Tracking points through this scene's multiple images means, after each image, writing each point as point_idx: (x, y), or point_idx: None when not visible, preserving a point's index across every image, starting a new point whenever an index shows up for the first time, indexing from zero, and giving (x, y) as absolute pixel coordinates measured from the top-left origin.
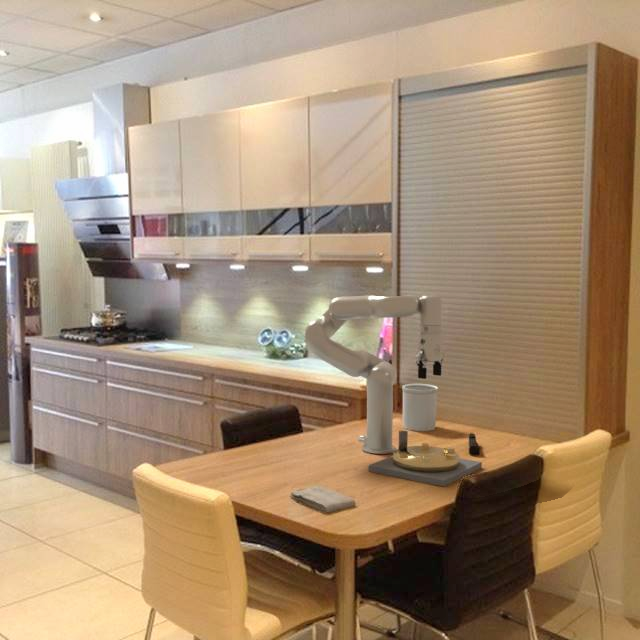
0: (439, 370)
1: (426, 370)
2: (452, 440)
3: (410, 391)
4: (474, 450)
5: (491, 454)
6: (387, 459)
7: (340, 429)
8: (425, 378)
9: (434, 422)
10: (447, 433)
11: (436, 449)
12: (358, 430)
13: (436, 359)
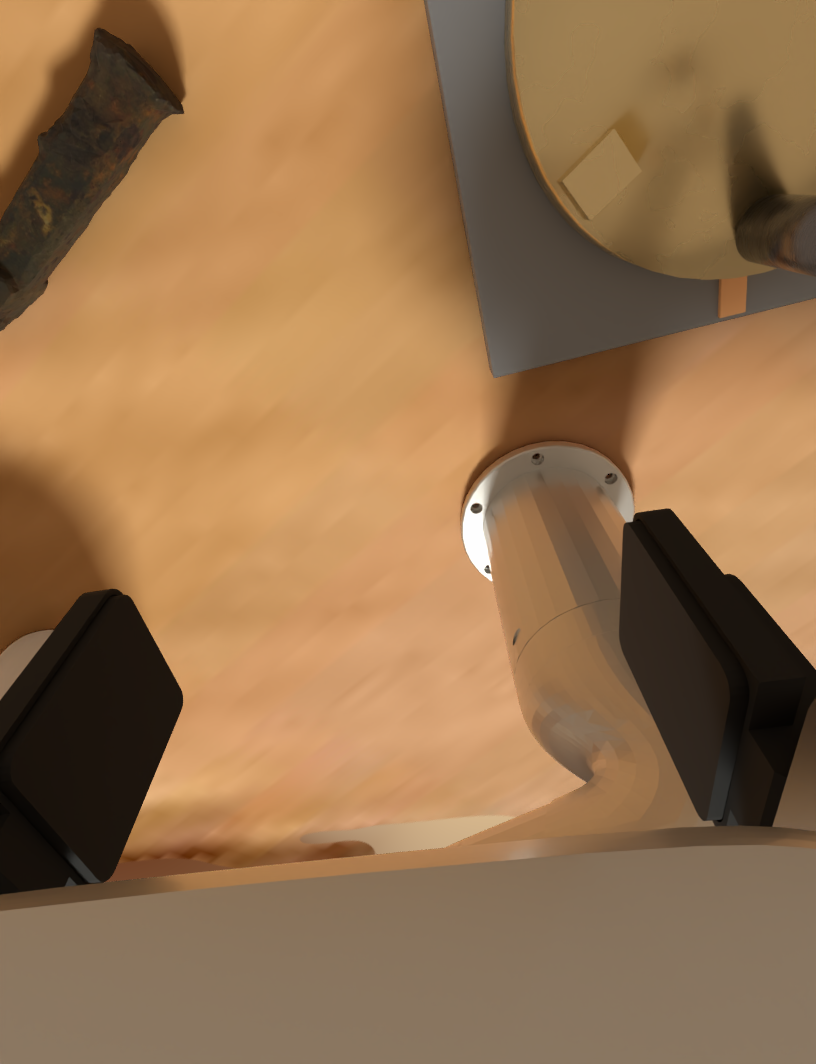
0: (80, 671)
1: (719, 620)
2: (63, 444)
3: None
4: (147, 65)
5: (15, 4)
6: (798, 282)
7: (401, 796)
8: (662, 509)
9: (8, 656)
10: (3, 554)
11: (591, 55)
12: (353, 762)
13: (282, 938)
